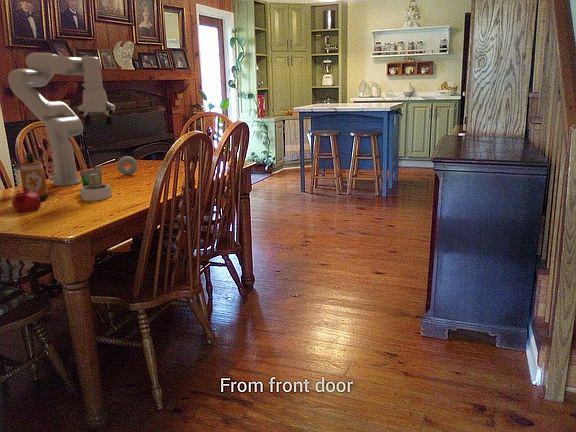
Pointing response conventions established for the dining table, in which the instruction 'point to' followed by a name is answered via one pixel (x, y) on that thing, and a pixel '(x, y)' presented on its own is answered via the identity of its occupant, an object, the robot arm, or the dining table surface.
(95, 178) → the grey rectangular block
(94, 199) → the white octagonal tray
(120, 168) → the donut
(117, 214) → the dining table surface
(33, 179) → the canister
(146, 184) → the dining table surface
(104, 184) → the hollow square tube
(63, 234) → the dining table surface
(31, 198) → the pomegranate
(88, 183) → the food container
